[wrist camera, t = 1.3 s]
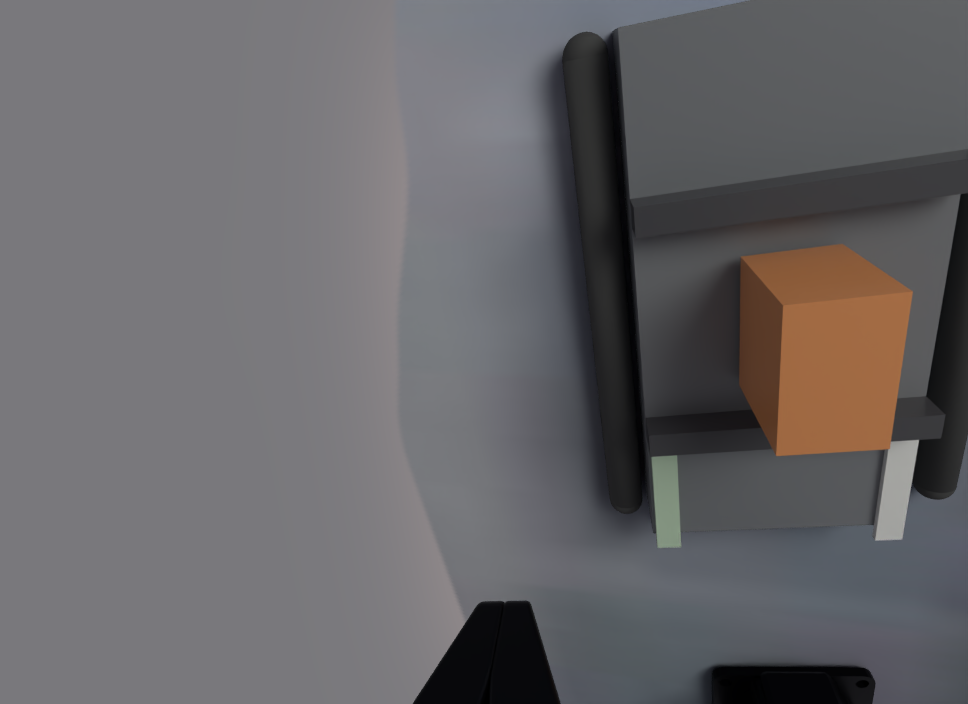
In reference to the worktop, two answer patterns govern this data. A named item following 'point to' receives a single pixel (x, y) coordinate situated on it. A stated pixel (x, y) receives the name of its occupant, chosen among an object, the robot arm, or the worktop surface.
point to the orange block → (821, 349)
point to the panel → (782, 232)
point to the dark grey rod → (603, 259)
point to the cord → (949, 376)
